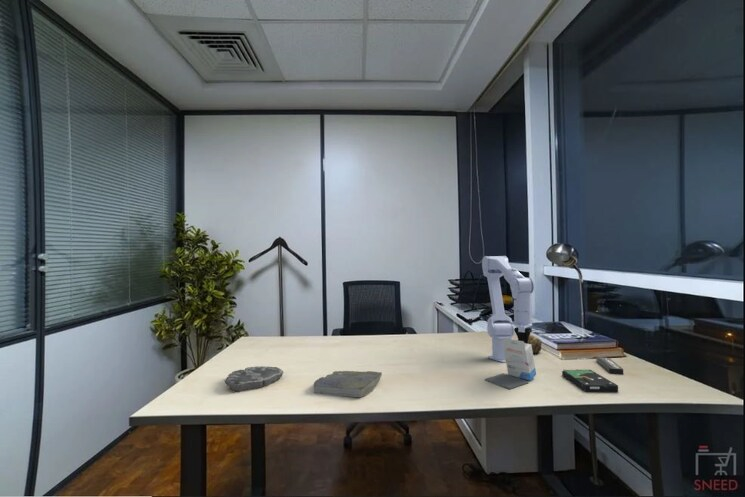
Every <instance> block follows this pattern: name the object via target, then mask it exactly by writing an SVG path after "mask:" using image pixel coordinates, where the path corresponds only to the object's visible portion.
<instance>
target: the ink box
mask: <svg viewBox="0 0 745 497" xmlns="http://www.w3.org/2000/svg"><path fill="white" fill-rule="evenodd" d="M502 340H503V348H504V353H505V359H506V362H505V364H506V365H505V366H506V368H507V369H506V370H507V375H509V376H512V377H515V378H518V379H521V380H525V381H528V382H529V381H530V382H531V381H532V380H533V379H534V378H535V377H536V376H537V371H536V363H535V359H534V353H533V351H532V345H531V344H526V343H524V342H523V341H518V339H514V338H513V339H507V338H502Z"/></svg>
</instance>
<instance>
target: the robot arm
mask: <svg viewBox="0 0 745 497" xmlns="http://www.w3.org/2000/svg"><path fill="white" fill-rule="evenodd" d="M481 267H482V273H483V277H486V278H487V283H488V284H487V285H488V290H489V297H490V298H489V299H490V305H491V310H492V315H491V316H489V318H487V320H486V321H487V322H486V323H487V327H486V329H487V334H488V336H489V337H490V338H491V345H492V346H491V349H492V350H491V351H492V352H491V353H492V354H491V355H489V356H487V358H488V359H491V360H494V361H497V362H501V363H503V364H504V363H506V359H505V353H504V348H503V340H502V338H507V339H513V340H514V338H513V337H514V336H515V334H516V337H517V340H518V341H523V342H524V343H526V344H528V338H529V335H530V334H531V333H532V331H533V330H532V329H533V328H531V327H532V326H533V323H532V298H531V296H532V294H533V293H534V289H535V284H534V281H533V279H532V278H531V277H525V276H524V275H523V274H522V273H520V272H519V270H518V269H517V268H516V267H511V265H510V264H509V258H508V257H507V256H506V255H498V256H495V255H494V256H491V255H489V256H487V255H484V256H483V258H482V261H481ZM501 277H503V278H504V279H505V281H506V282H507V283H508V284H509V286H510V291H511V297H512V298H513V316H514V317H513V318H511V317H510V316H508V315H507V314H506V312H505V311H506V310H505V307H504V300H503V294H502V287H501V281H500V278H501ZM512 319H514V320H512ZM515 326H516V327H515Z"/></svg>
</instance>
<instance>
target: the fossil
mask: <svg viewBox="0 0 745 497" xmlns="http://www.w3.org/2000/svg"><path fill="white" fill-rule="evenodd" d="M382 375H383V374H382V372H378V371H371V370H370V371H369V370H368V371H357V370H356V371H354V370H339V371H338V370H337V371H336V370H335V371H333V372H332V373H331V374H330V373H329V374H327V375H326V376H322V377H320V378H318V379H316V380H315V381H313V382H314V383H313V393H315V394H317V395H323V396H324V395H325V396H333V397H351V398H363V397H364V396H367V395H369V394H370V393H373V391H374V390H375V389H376V387H377V386H378V384H379V382H380V381H381V378H382Z"/></svg>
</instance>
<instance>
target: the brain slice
mask: <svg viewBox="0 0 745 497" xmlns="http://www.w3.org/2000/svg"><path fill="white" fill-rule="evenodd" d="M283 374H284V371H283V369H281V368H279V367H276V366H263V365H262V366H258V365H257V366H250V367H245V369H238V370H234V371H232V372H231V373H229V374H228V375H227V377H226V378H225V380H224V382H225V384H226V386H227V387H229V388H230V389H231V390H232V391H233V392H245V391H251V390H257V389H260V388H265V387H268V386H269V385H272V384H274V383H276V382H278V381H279V380H280V379H281V378H282V376H283Z"/></svg>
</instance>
